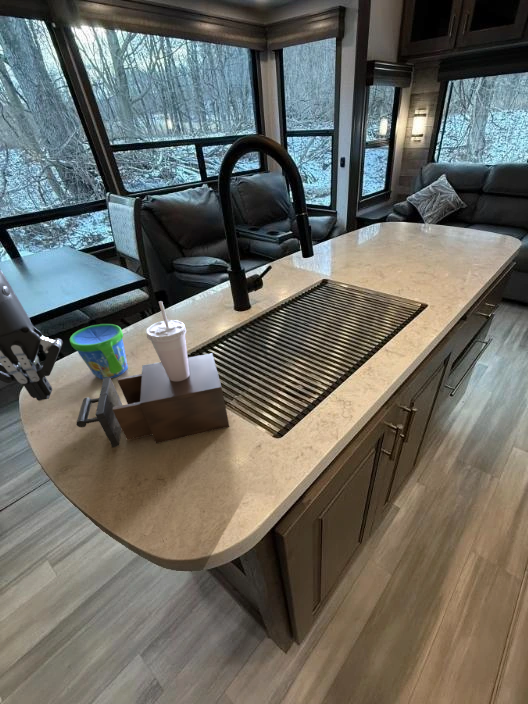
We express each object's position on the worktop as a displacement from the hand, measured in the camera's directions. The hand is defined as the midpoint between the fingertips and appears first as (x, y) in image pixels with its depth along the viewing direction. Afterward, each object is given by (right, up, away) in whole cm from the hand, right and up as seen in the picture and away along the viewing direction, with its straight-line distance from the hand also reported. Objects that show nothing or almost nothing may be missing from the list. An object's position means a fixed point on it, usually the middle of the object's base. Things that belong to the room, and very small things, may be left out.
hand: (44, 397), depth 56 cm
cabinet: (+21, -3, +12) cm, 24 cm away
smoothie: (+21, +4, +6) cm, 22 cm away
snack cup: (-3, +6, +25) cm, 26 cm away
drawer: (+11, -5, +9) cm, 15 cm away
